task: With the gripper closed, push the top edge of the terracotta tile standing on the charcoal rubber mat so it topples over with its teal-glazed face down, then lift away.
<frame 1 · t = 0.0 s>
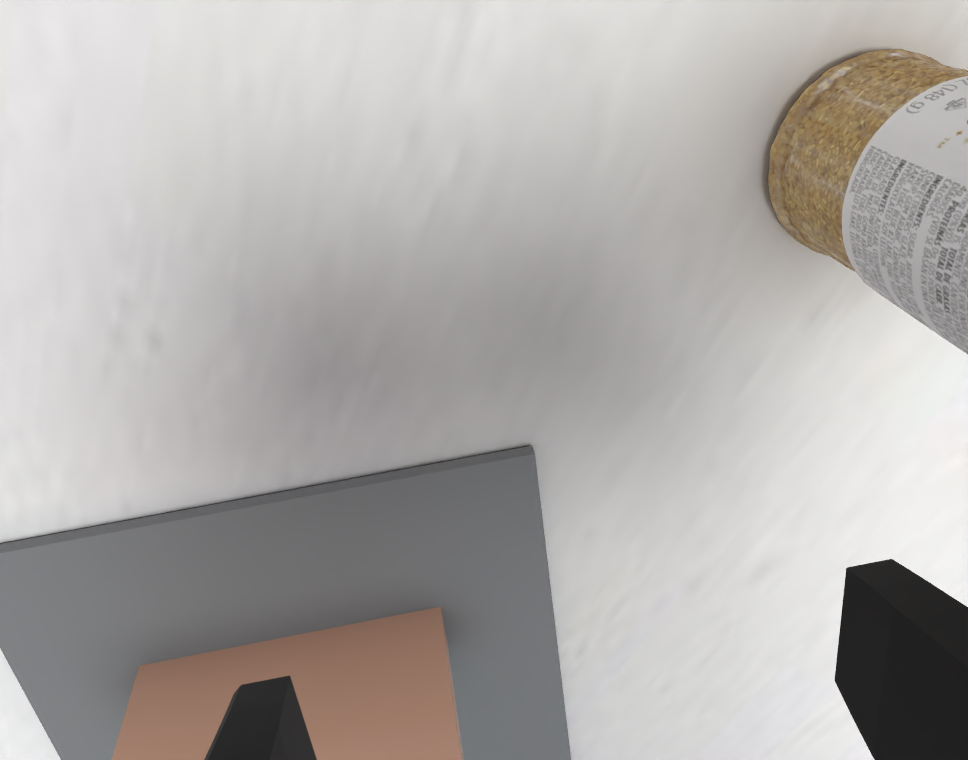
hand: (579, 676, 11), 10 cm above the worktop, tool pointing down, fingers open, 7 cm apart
glazed tile: (297, 656, 23), resting on rubber mat
tan and white cylinder: (851, 153, 19), on the worktop
rubber mat: (329, 743, 25), on the worktop
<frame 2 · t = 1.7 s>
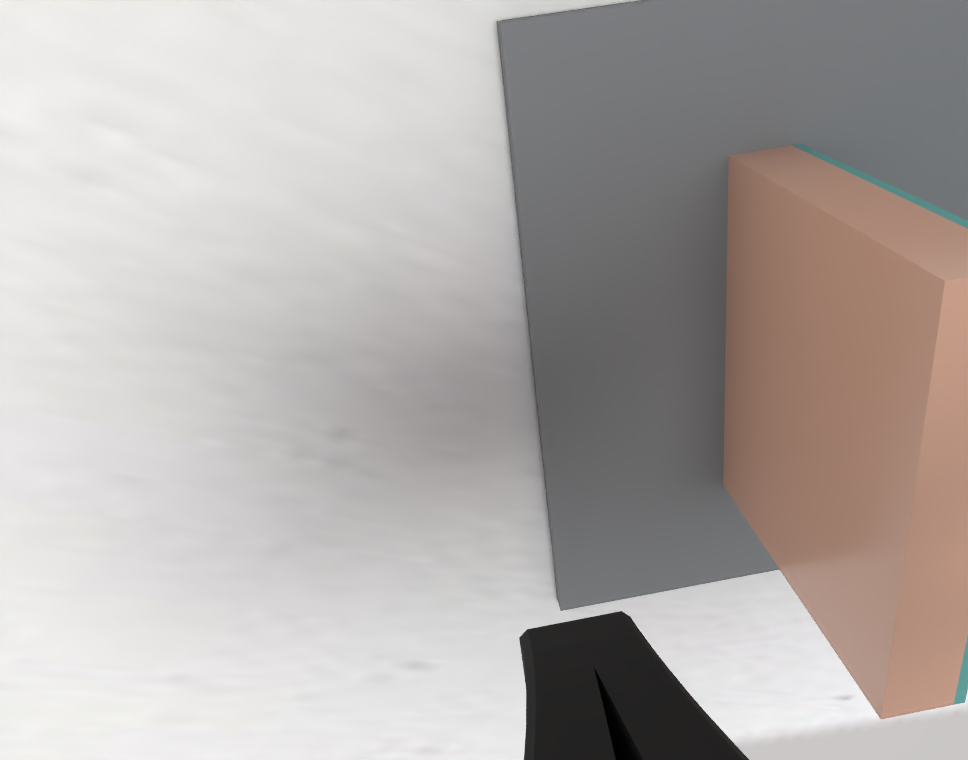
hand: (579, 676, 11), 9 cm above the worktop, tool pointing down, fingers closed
glazed tile: (758, 331, 19), resting on rubber mat
rubber mat: (920, 295, 19), on the worktop
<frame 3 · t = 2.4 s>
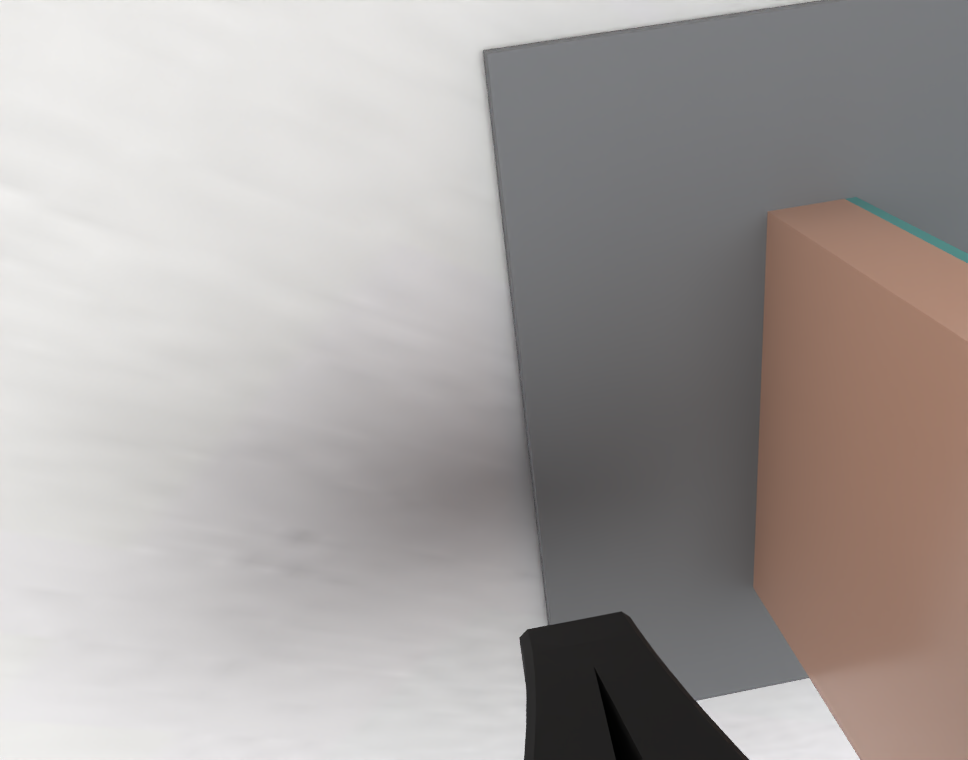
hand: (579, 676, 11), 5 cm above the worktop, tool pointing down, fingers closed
glazed tile: (798, 415, 16), resting on rubber mat
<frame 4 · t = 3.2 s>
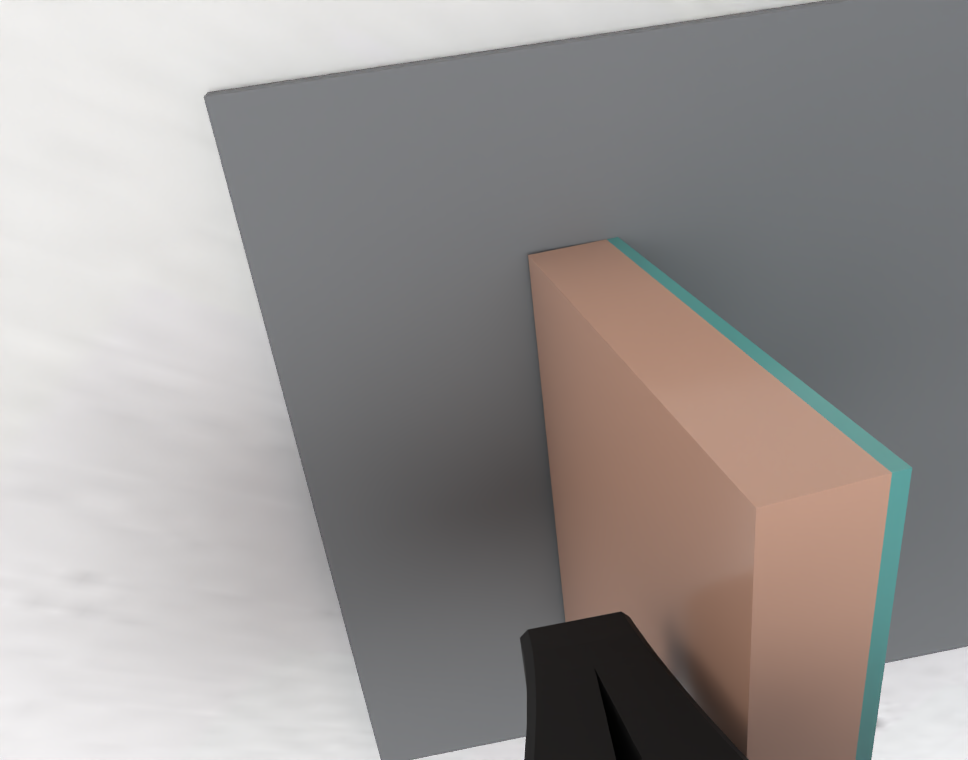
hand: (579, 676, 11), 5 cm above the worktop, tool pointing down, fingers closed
glazed tile: (589, 456, 15), resting on rubber mat, tilted 5°, touching gripper
rubber mat: (789, 405, 16), on the worktop
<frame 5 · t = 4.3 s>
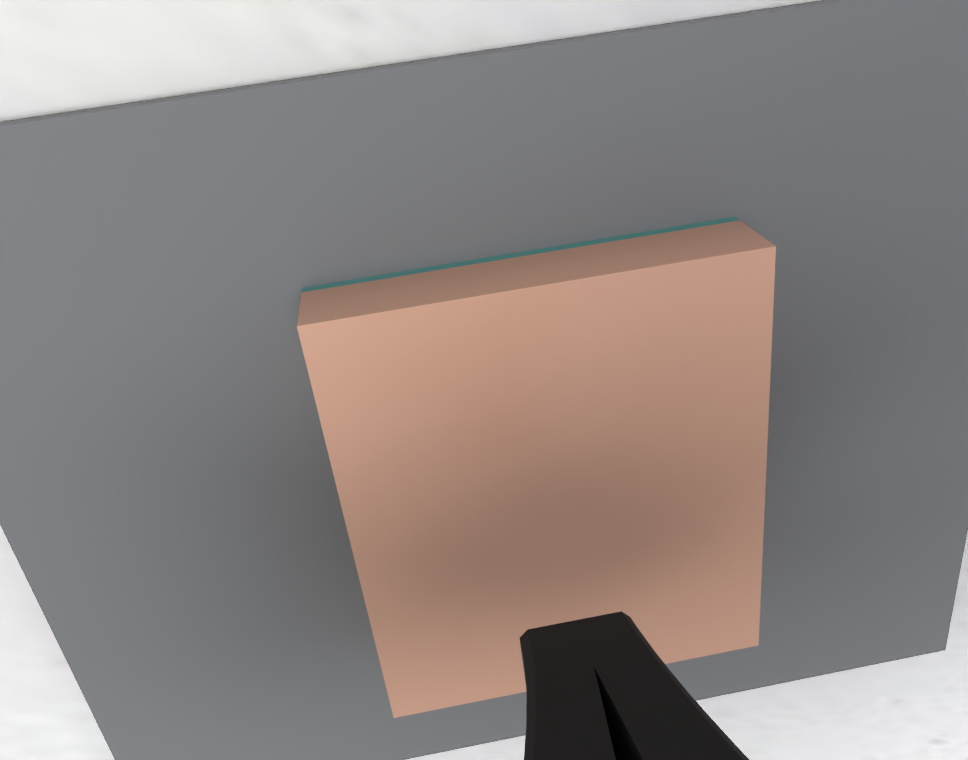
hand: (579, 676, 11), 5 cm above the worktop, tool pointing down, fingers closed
glazed tile: (351, 521, 14), point 1 cm above the worktop, tilted 90°, touching rubber mat
rubber mat: (520, 452, 16), on the worktop
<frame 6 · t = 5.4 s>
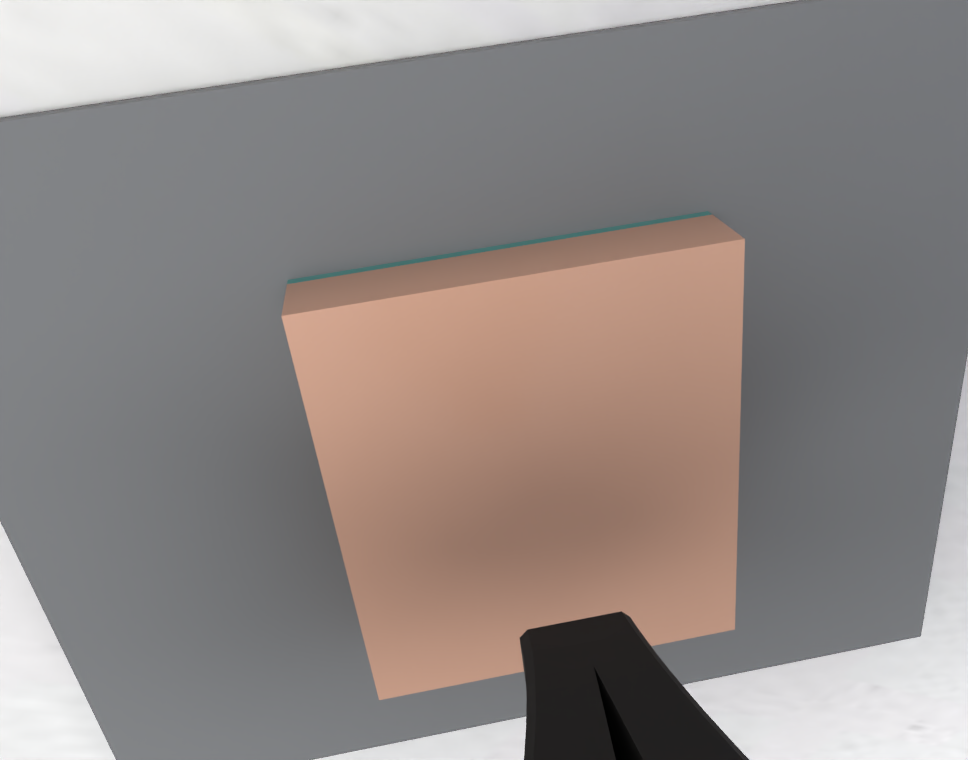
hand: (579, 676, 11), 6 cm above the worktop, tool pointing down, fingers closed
glazed tile: (337, 507, 15), point 1 cm above the worktop, tilted 90°, touching rubber mat
rubber mat: (502, 441, 16), on the worktop
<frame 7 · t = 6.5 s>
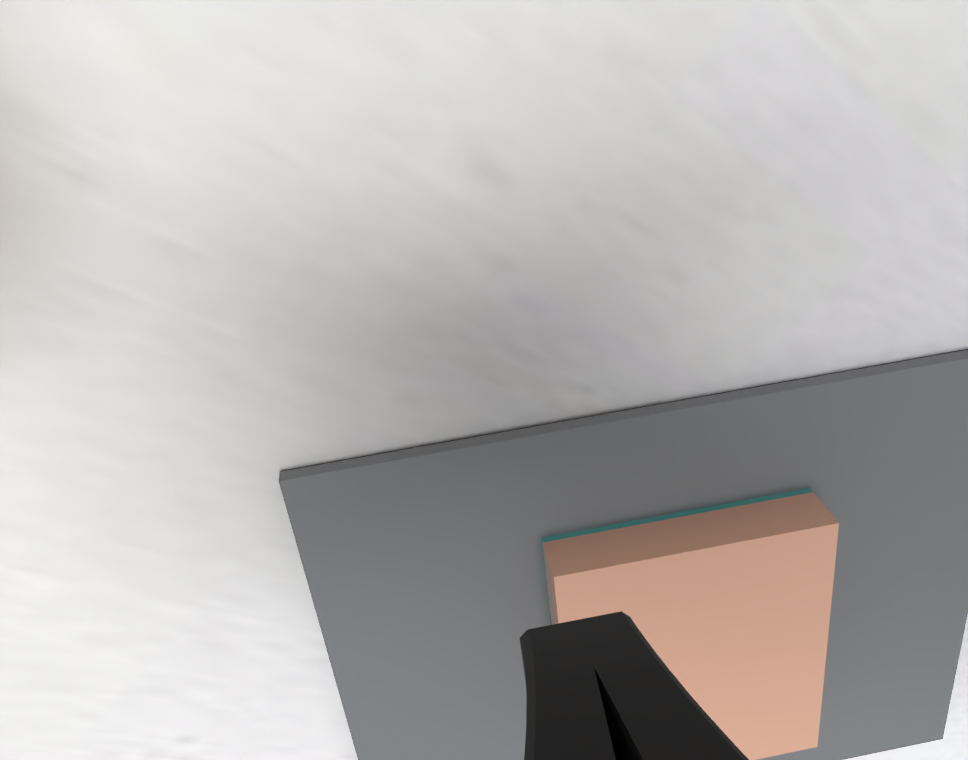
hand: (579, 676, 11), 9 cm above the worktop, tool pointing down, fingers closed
glazed tile: (559, 674, 22), point 1 cm above the worktop, tilted 90°, touching rubber mat
rubber mat: (661, 621, 24), on the worktop
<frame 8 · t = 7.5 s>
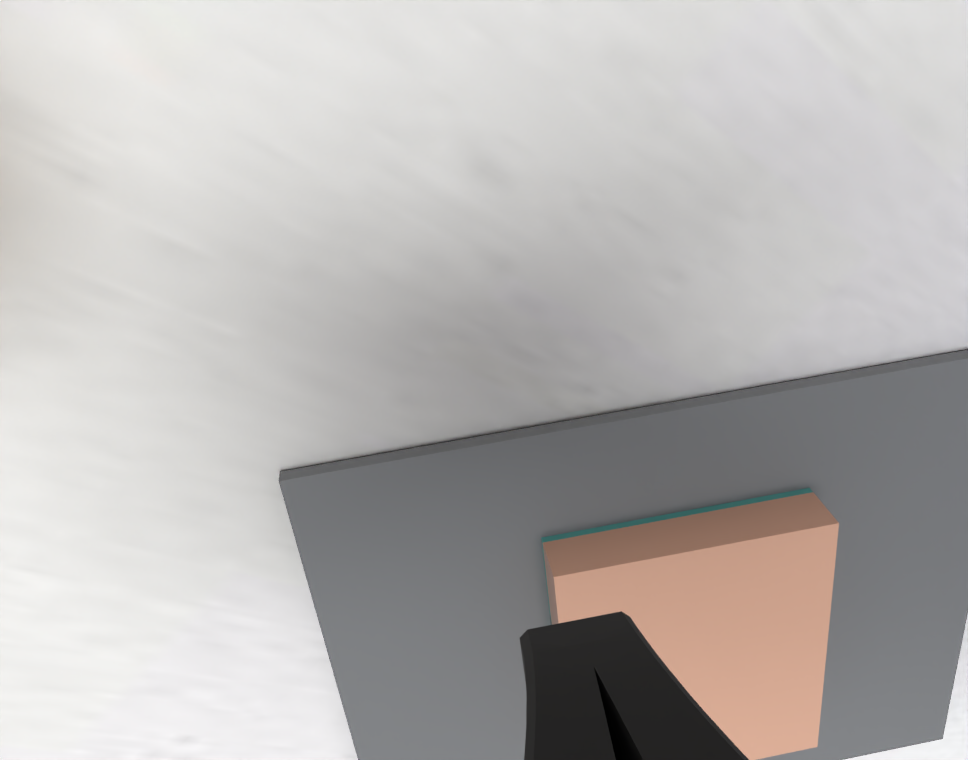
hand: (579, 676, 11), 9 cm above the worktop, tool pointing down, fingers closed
glazed tile: (559, 674, 22), point 1 cm above the worktop, tilted 90°, touching rubber mat
rubber mat: (661, 621, 24), on the worktop
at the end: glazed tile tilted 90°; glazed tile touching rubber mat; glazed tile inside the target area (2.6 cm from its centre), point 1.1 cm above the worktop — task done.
